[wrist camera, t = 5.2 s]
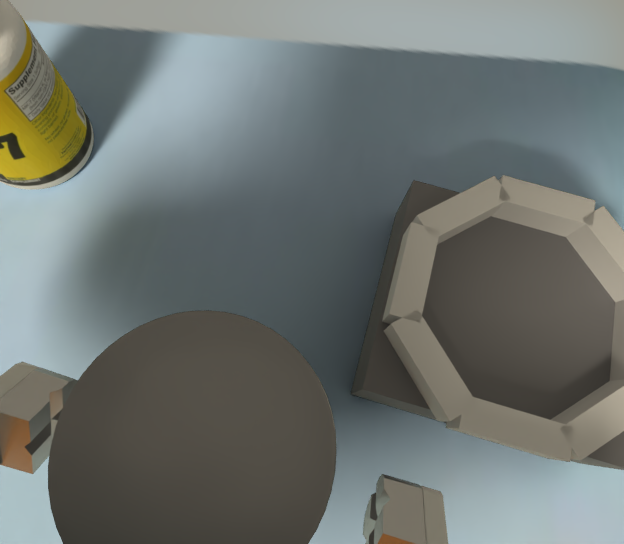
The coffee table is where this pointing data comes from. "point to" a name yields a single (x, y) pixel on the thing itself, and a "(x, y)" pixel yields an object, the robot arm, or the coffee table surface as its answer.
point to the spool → (194, 439)
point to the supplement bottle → (36, 112)
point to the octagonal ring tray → (503, 319)
